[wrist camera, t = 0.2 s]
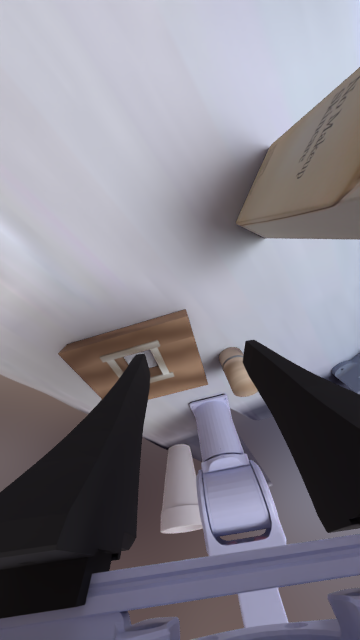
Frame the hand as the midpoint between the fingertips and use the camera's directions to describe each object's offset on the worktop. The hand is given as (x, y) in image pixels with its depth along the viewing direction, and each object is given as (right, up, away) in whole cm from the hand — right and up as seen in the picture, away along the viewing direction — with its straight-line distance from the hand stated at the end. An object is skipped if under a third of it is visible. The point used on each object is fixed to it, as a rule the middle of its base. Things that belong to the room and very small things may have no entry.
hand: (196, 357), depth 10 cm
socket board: (-7, -4, +13) cm, 15 cm away
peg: (+8, -3, +14) cm, 16 cm away
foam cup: (-1, -34, +31) cm, 46 cm away
